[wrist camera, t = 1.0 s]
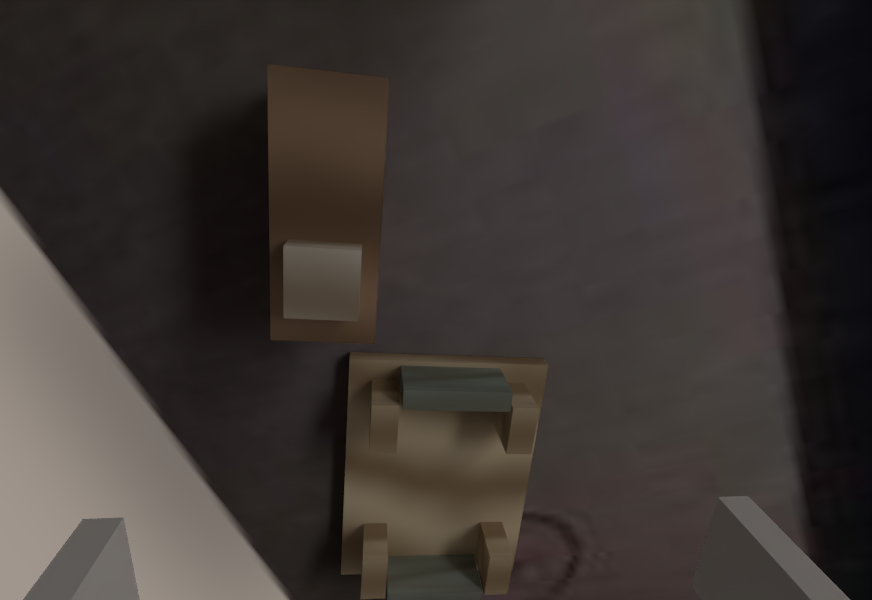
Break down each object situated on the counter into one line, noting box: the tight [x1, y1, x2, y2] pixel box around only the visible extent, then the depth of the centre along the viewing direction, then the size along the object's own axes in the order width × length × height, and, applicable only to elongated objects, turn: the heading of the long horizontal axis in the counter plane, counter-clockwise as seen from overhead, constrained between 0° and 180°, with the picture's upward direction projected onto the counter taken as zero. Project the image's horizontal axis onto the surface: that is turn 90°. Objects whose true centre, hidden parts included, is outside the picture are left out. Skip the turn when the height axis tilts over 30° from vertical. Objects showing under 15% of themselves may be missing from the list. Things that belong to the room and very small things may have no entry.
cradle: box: [341, 352, 548, 600], centre depth 31 cm, size 16×12×4 cm
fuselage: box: [267, 64, 390, 344], centre depth 23 cm, size 11×4×8 cm, turn 175°
